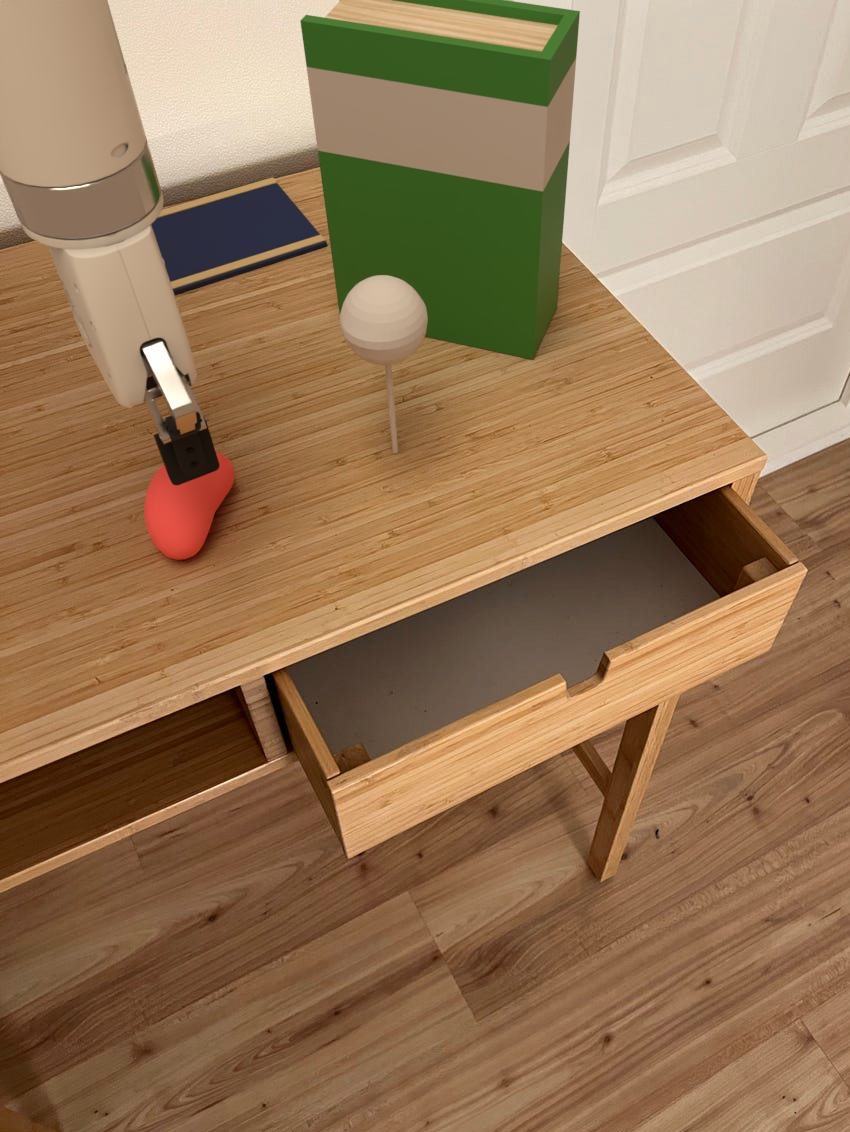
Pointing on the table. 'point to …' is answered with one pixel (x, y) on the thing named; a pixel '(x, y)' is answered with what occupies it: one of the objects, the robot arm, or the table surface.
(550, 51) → the hardback book
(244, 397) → the table surface
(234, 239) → the cloth
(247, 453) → the table surface
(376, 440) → the table surface
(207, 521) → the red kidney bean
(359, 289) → the lollipop
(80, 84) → the robot arm
